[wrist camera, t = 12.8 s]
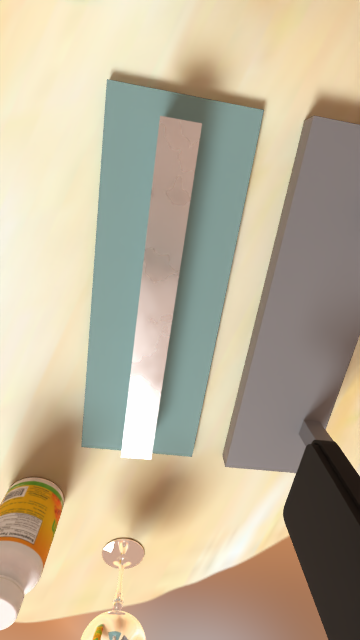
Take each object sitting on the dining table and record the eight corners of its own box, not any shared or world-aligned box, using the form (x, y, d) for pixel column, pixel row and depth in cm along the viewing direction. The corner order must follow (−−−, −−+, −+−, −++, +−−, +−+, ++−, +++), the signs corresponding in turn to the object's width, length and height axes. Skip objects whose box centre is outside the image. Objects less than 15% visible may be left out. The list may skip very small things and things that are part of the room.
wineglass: (86, 561, 36) (50, 729, 24) (112, 526, 34) (87, 688, 23) (133, 578, 37) (120, 745, 26) (160, 545, 35) (159, 708, 24)
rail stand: (304, 120, 22) (507, 10, 9) (414, 142, 23) (744, 68, 10) (222, 454, 32) (265, 637, 18) (302, 462, 32) (398, 642, 19)
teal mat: (108, 82, 21) (107, 79, 21) (261, 112, 22) (263, 110, 22) (82, 442, 30) (81, 446, 30) (191, 452, 31) (191, 456, 31)
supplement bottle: (55, 523, 34) (15, 644, 24) (1, 508, 33) (-62, 629, 23) (72, 485, 32) (37, 599, 23) (16, 468, 31) (-44, 580, 22)
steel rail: (160, 126, 22) (159, 115, 19) (197, 133, 22) (202, 123, 19) (124, 432, 29) (121, 457, 27) (152, 434, 30) (151, 459, 27)
